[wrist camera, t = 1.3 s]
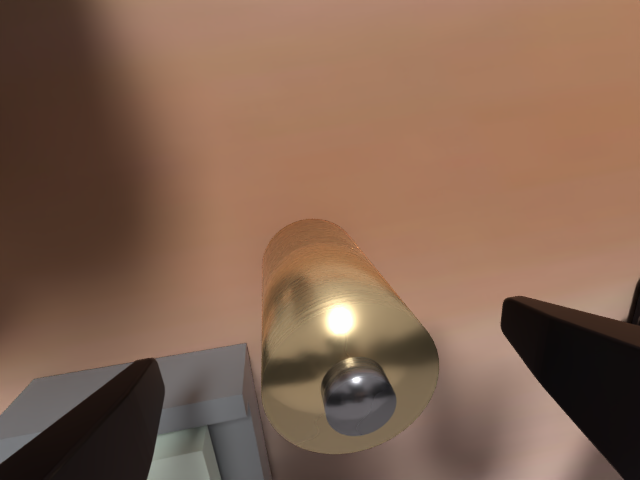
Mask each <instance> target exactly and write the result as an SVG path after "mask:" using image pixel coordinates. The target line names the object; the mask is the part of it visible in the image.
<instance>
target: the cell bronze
mask: <svg viewBox="0 0 640 480" xmlns="http://www.w3.org/2000/svg"><path fill="white" fill-rule="evenodd" d="M438 373H439V358H438V353H437V349H436V346H435V344H434V341H433V340H432V338H431V336H430V334H429V333H428V332H427V330H426V329H425V328H424V327H423V326H422V324H421V323H420V322H419V321H418V319H417V318H416V317H415V316H414V314H413V313H412V312H411V311H410V310H409V308H408V307H407V306H406V305H405V303H404V302H403V301H402V300H401V299H400V297H399V296H398V295H397V294H396V292H395V291H394V290H393V289H392V288H391V286H390V285H389V284H388V283H387V281H386V280H385V279H384V278H383V277H382V275H381V274H380V273H379V272H378V270H377V269H376V268H375V267H374V265H373V264H372V263H371V262H370V261H369V259H368V258H367V257H366V256H365V254H364V253H363V252H362V251H361V250H360V248H359V247H358V246H357V245H356V243H355V242H354V241H353V240H352V239H351V237H350V236H349V235H348V234H347V233H346V232H345V231H344V230H343V229H342V228H340V227H339V226H338V225H336V224H334V223H332V222H329V221H326V220H321V219H305V220H300V221H297V222H294V223H292V224H290V225H288V226H286V227H284V228H283V229H282V230H280V231H279V232H278V233H277V234H276V235H275V236H274V237H273V238H272V240H271V241H270V243H269V244H268V246H267V248H266V250H265V253H264V257H263V265H262V367H261V395H262V404H263V408H264V411H265V414H266V416H267V418H268V420H269V422H270V423H271V425H272V426H273V428H274V429H275V430H276V431H277V432H278V433H279V434H280V435H281V436H282V437H283V438H285V439H286V440H287V441H289V442H290V443H292V444H294V445H296V446H298V447H300V448H303V449H305V450H309V451H312V452H316V453H323V454H347V453H353V452H359V451H362V450H366V449H370V448H372V447H375V446H378V445H380V444H382V443H384V442H386V441H388V440H390V439H392V438H393V437H395V436H396V435H398V434H399V433H401V432H402V431H403V430H405V429H406V428H407V427H408V426H409V425H411V424H412V423H413V422H414V421H415V420H416V419H417V417H418V416H419V415H420V414H421V413H422V411H423V410H424V409H425V407H426V406H427V404H428V403H429V401H430V399H431V397H432V395H433V392H434V390H435V388H436V384H437V380H438Z"/></svg>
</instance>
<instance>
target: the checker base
mask: <svg viewBox="0 0 640 480" xmlns="http://www.w3.org/2000/svg"><path fill="white" fill-rule="evenodd" d="M155 359H156V360H157V362H158V365H159V368H160V372H161V375H162V378H163V382H164V385H165V397H164V403H163V408H162V413H161V418H160V424H159V429H158V434H157V435H159V434H164V433H169V432H174V431H179V430H185V429H190V428H195V427H200V426H205V425H207V426H208V430H209V434H210V438H211V442H212V446H213V450H214V453H215V457H216V461H217V465H218V469H219V473H220V476H221V480H272V477H271V471H270V466H269V461H268V456H267V450H266V445H265V440H264V434H263V429H262V424H261V418H260V413H259V408H258V402H257V397H256V392H255V387H254V381H253V376H252V371H251V365H250V360H249V355H248V349H247V344H246V343H244V344H238V345H232V346H226V347H220V348H214V349H209V350H203V351H197V352H191V353H185V354H179V355H173V356H167V357H161V358H155ZM132 363H133V362H132ZM132 363H126V364H120V365H114V366H108V367H102V368H96V369H90V370H85V371H79V372H73V373H67V374H61V375H55V376H49V377H43V378H37V379H34V380H33V381H32V382H31V383H30V384H29V385H28V386H27V387H26V388H25V389H24V390H23V391H22V393H21V394H20V395H19V396H18V397H17V398H16V399H15V400H14V401H13V402H12V403H11V404H10V405H9V407H8V408H7V409H6V410H5V411H4V412H3V413H2V414H1V415H0V464H1V463H2V462H3V461H4V460H6V459H7V458H8V457H10V456H11V455H12V454H14V453H15V452H16V451H18V450H19V449H20V448H22V447H23V446H24V445H26V444H27V443H28V442H29V441H31V440H32V439H33V438H35V437H36V436H37V435H39V434H40V433H41V432H43V431H44V430H45V429H47V428H48V427H49V426H51V425H52V424H53V423H54V422H56V421H57V420H58V419H60V418H61V417H62V416H64V415H65V414H66V413H68V412H69V411H70V410H72V409H73V408H74V407H75V406H77V405H78V404H79V403H81V402H82V401H83V400H85V399H86V398H87V397H89V396H90V395H91V394H93V393H94V392H95V391H97V390H98V389H99V388H100V387H102V386H103V385H104V384H106V383H107V382H108V381H110V380H111V379H112V378H114V377H115V376H116V375H118V374H119V373H120V372H121V371H123V370H124V369H125V368H127V367H128V366H129V365H131V364H132Z"/></svg>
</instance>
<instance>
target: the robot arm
mask: <svg viewBox="0 0 640 480" xmlns="http://www.w3.org/2000/svg"><path fill="white" fill-rule="evenodd" d="M501 329H502V332H503V334H504V335H505V337H506V338H507V339H508V341H509V342H510V344H511V345H512V346H513V348H514V349H515V350H516V352H517V353H518V354H519V356H520V357H521V359H522V360H523V361H524V363H525V364H526V365H527V367H528V368H529V370H530V371H531V372H532V374H533V375H534V376H535V378H536V379H537V380H538V381H539V383H540V384H541V385H542V386H543V387H544V389H545V390H546V391H547V392H548V393H549V394H550V396H551V397H552V398H553V399H554V400H555V401H556V402H557V404H558V405H559V406H560V407H561V408H562V409H563V410H564V412H565V413H566V414H567V415H568V416H569V417H570V418H571V420H572V421H573V422H574V423H575V424H576V425H577V426H578V428H579V429H580V430H581V431H582V432H583V433H584V434H585V436H586V437H587V438H588V439H589V440H590V441H591V442H592V444H593V445H594V446H595V447H596V448H597V449H598V450H599V452H600V453H601V454H602V455H603V456H604V457H605V458H606V460H607V461H608V462H609V463H610V464H611V465H612V466H613V468H614V469H615V470H616V471H617V472H618V473H619V474H620V476H621V477H622V478H623V479H624V480H640V294H639V298H638V302H637V306H636V309H635V313H634V317H633V321H632V324H630V323H626V322H622V321H618V320H614V319H610V318H606V317H602V316H599V315H595V314H591V313H587V312H583V311H579V310H575V309H571V308H567V307H563V306H559V305H555V304H551V303H547V302H543V301H540V300H536V299H532V298H528V297H524V296H515V297H509V298H506V299H505V300H504V302H503V306H502V315H501ZM164 397H165V385H164V382H163V378H162V375H161V372H160V368H159V365H158V362H157V360H156V359H154V358H147V359H141V360H137V361H135V362H133V363H132V364H131V365H129V366H128V367H127V368H125V369H124V370H123V371H121V372H120V373H119V374H118V375H116V376H115V377H114V378H112V379H111V380H110V381H108V382H107V383H106V384H104V385H103V386H102V387H100V388H99V389H98V390H97V391H95V392H94V393H93V394H91V395H90V396H89V397H87V398H86V399H85V400H83V401H82V402H81V403H79V404H78V405H77V406H75V407H74V408H73V409H72V410H70V411H69V412H68V413H66V414H65V415H64V416H62V417H61V418H60V419H58V420H57V421H56V422H54V423H53V424H52V425H51V426H49V427H48V428H47V429H45V430H44V431H43V432H41V433H40V434H39V435H37V436H36V437H35V438H33V439H32V440H31V441H29V442H28V443H27V444H26V445H24V446H23V447H22V448H20V449H19V450H18V451H16V452H15V453H14V454H12V455H11V456H10V457H8V458H7V459H6V460H4V461H3V462H2V463H1V464H0V480H147V478H148V474H149V471H150V467H151V463H152V459H153V455H154V450H155V445H156V439H157V434H158V429H159V424H160V418H161V413H162V408H163V403H164Z"/></svg>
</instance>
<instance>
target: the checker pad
mask: <svg viewBox="0 0 640 480" xmlns="http://www.w3.org/2000/svg"><path fill="white" fill-rule="evenodd" d="M147 480H221V476H220V473H219V469H218V465H217V461H216V457H215V453H214V450H213V446H212V442H211V438H210V434H209V430H208V426H207V425H205V426H200V427H195V428H190V429H185V430H179V431H174V432H169V433H164V434H159V435H157V439H156V445H155V450H154V455H153V459H152V463H151V467H150V471H149V474H148V478H147Z"/></svg>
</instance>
